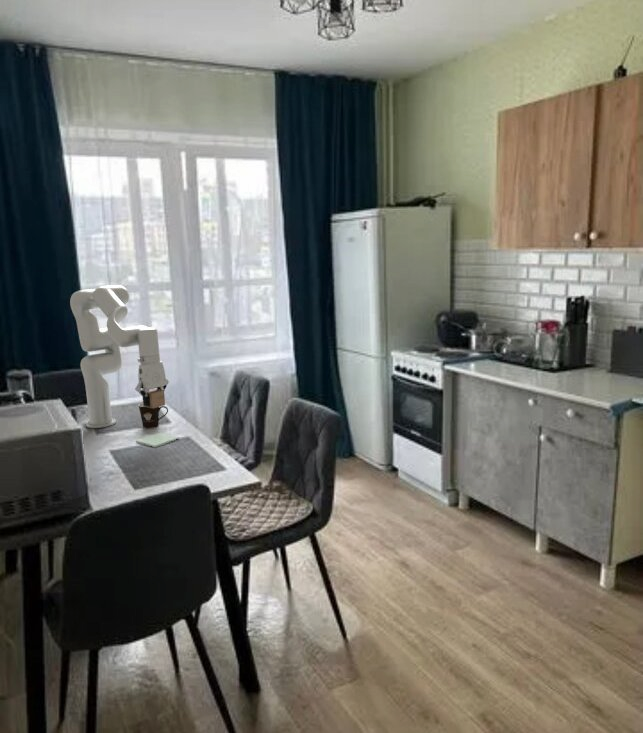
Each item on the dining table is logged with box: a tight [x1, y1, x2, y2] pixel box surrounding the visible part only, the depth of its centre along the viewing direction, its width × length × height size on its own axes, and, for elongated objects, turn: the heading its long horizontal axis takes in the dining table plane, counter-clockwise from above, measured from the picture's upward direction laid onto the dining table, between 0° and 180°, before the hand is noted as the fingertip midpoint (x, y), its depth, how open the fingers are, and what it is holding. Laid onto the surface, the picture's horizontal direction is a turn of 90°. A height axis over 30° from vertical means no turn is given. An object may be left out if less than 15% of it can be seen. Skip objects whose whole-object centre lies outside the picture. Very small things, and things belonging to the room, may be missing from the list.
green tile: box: [135, 432, 180, 448], centre depth 239 cm, size 12×12×1 cm
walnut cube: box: [141, 388, 166, 408], centre depth 235 cm, size 6×6×6 cm
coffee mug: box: [138, 402, 169, 429], centre depth 258 cm, size 12×9×10 cm
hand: (154, 403), depth 236 cm, fingers closed on walnut cube, 6 cm apart
